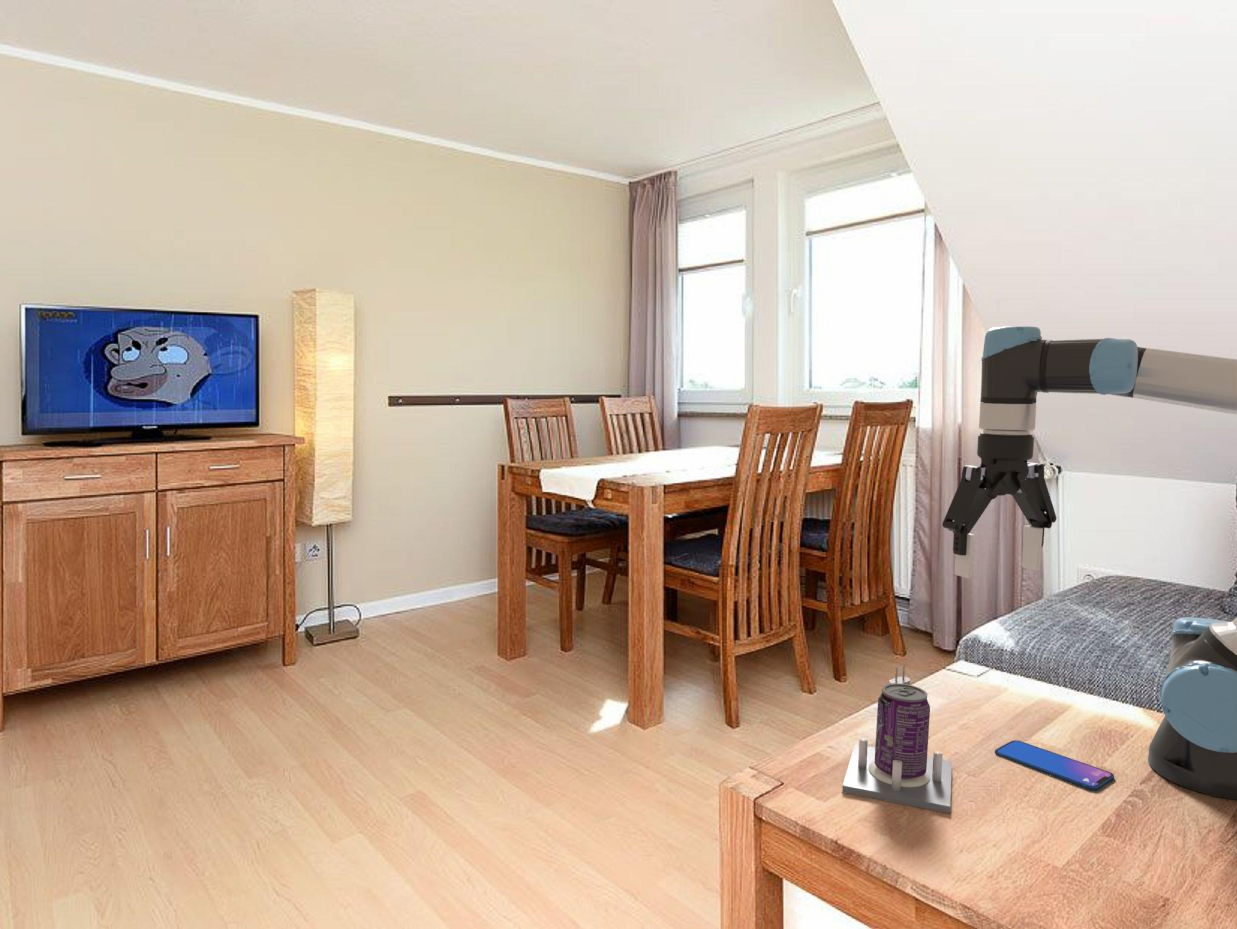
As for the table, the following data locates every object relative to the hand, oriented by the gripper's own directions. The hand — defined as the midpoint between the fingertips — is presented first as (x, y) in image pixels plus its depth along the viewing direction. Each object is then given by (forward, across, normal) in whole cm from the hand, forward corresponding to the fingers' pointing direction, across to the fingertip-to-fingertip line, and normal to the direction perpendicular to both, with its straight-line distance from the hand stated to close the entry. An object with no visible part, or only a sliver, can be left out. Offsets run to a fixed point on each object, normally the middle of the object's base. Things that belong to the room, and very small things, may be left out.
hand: (997, 572), depth 122 cm
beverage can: (+28, +18, +1) cm, 33 cm away
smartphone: (+29, -6, +6) cm, 31 cm away
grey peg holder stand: (+29, +18, +1) cm, 34 cm away
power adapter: (+29, +9, -10) cm, 32 cm away
